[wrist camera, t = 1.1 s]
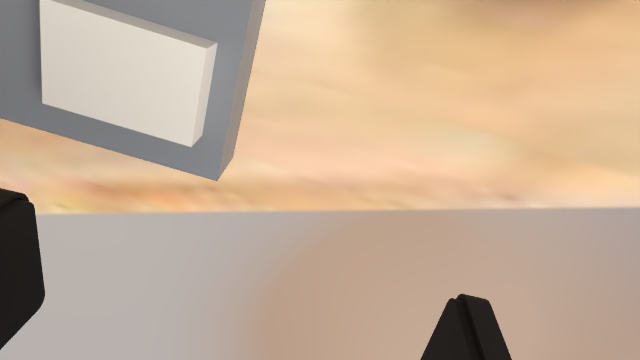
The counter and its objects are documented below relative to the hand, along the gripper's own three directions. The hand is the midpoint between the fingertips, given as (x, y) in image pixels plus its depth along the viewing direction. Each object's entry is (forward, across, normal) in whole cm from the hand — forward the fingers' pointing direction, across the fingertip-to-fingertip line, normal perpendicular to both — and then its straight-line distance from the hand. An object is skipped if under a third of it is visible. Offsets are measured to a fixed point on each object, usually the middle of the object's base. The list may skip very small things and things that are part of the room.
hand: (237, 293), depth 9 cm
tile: (+18, +11, +1) cm, 21 cm away
